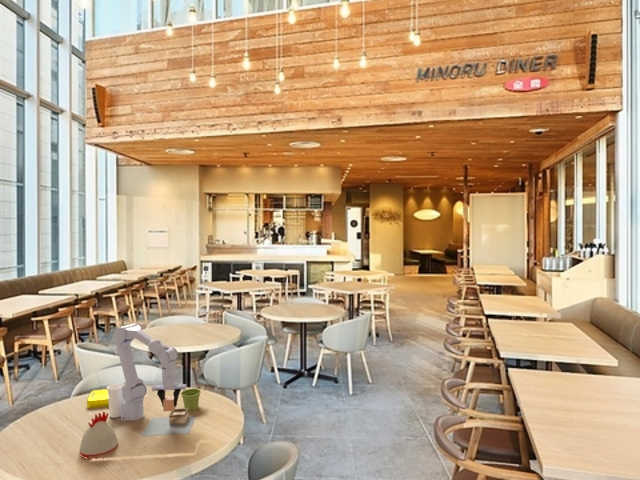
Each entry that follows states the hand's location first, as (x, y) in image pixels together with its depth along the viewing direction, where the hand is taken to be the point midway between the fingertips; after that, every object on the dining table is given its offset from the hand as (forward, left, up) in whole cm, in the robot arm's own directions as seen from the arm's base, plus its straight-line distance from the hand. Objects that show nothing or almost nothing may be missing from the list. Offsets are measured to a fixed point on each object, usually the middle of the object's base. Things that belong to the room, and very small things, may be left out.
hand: (169, 405), depth 207 cm
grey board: (0, -1, -9) cm, 9 cm away
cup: (-28, +15, -10) cm, 33 cm away
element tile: (-40, +34, -10) cm, 53 cm away
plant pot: (+6, +18, -10) cm, 21 cm away
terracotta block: (0, 0, -1) cm, 1 cm away
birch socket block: (+3, +4, -8) cm, 10 cm away
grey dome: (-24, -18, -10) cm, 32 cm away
